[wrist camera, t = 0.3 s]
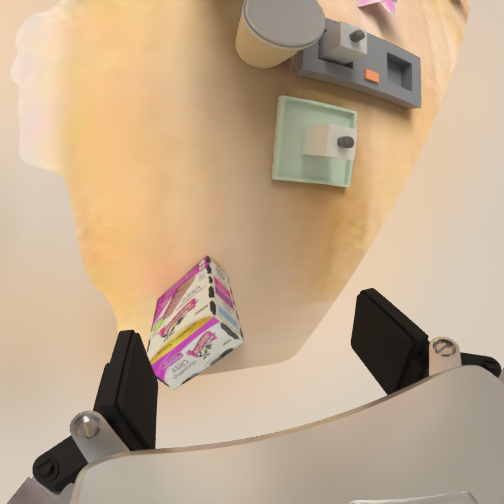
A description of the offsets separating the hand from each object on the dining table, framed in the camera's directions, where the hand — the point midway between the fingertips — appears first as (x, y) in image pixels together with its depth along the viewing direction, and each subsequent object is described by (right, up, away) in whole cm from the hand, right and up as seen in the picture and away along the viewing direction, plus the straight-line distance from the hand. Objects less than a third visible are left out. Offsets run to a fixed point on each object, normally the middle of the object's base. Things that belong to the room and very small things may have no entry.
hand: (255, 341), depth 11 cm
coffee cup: (+1, +33, +21) cm, 39 cm away
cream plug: (+9, +19, +26) cm, 34 cm away
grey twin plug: (+11, +34, +22) cm, 41 cm away
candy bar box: (-10, -2, +31) cm, 33 cm away
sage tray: (+9, +20, +27) cm, 35 cm away
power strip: (+17, +34, +23) cm, 44 cm away
